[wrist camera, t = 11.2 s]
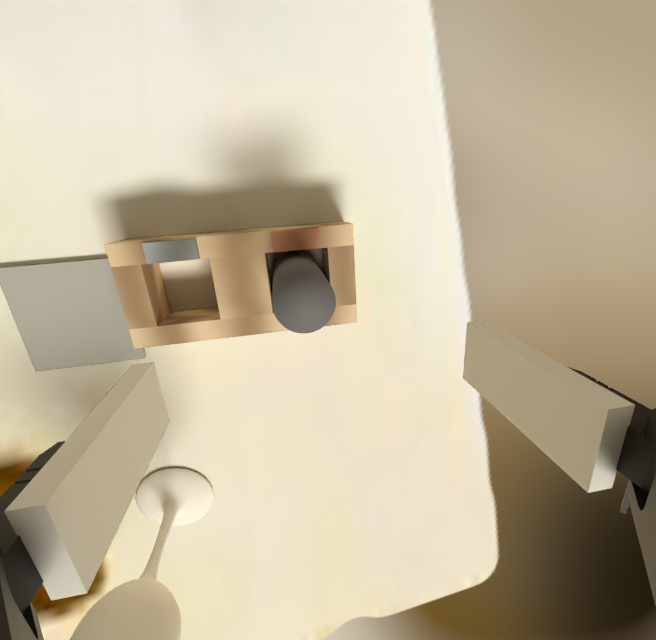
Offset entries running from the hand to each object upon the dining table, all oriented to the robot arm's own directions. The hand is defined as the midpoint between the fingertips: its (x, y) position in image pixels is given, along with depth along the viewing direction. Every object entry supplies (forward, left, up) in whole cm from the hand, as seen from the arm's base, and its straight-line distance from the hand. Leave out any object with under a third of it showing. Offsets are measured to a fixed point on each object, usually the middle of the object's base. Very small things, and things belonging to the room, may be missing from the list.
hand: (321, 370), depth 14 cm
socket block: (-5, 0, -21) cm, 21 cm away
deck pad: (-21, -2, -21) cm, 29 cm away
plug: (0, 0, -21) cm, 21 cm away
